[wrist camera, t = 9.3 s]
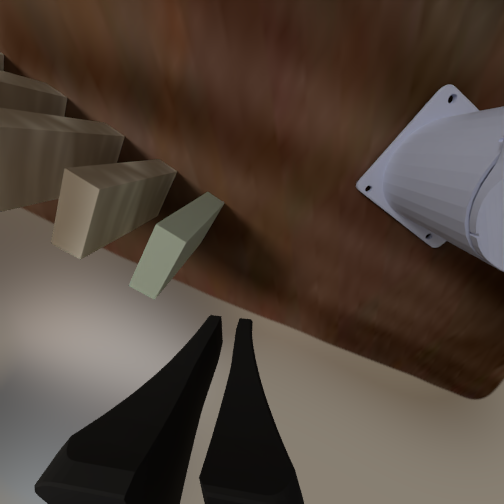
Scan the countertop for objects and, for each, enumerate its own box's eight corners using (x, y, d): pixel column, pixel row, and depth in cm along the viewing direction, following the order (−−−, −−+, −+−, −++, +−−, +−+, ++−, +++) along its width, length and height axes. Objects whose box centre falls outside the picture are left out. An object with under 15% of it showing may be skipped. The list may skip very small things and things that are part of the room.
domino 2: (177, 171, 18) (99, 189, 10) (157, 216, 21) (80, 259, 13) (159, 159, 18) (64, 168, 10) (140, 205, 20) (51, 243, 12)
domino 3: (125, 136, 18) (-3, 126, 10) (110, 186, 20) (-5, 213, 12) (104, 122, 17) (-45, 101, 9) (91, 175, 19) (-39, 194, 11)
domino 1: (224, 203, 19) (186, 242, 11) (200, 242, 21) (154, 299, 13) (207, 191, 19) (156, 223, 11) (185, 233, 21) (128, 285, 13)
